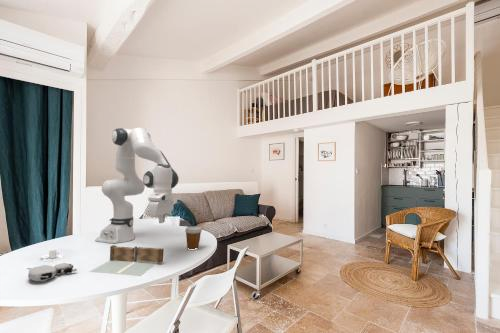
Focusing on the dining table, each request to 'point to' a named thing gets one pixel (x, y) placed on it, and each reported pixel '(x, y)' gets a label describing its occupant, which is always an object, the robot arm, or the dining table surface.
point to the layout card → (125, 267)
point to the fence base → (123, 254)
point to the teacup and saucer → (51, 255)
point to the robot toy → (49, 271)
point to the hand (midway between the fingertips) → (161, 222)
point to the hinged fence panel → (150, 254)
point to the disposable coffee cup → (193, 237)
